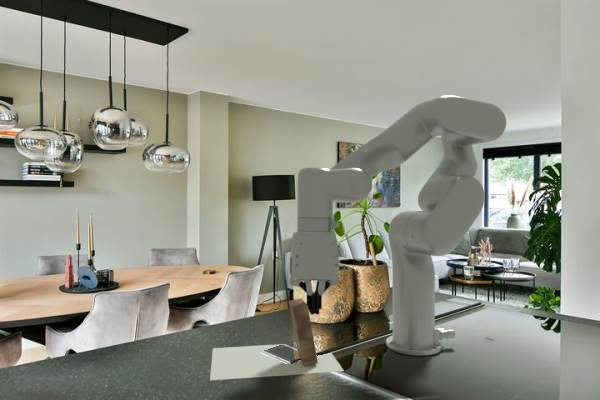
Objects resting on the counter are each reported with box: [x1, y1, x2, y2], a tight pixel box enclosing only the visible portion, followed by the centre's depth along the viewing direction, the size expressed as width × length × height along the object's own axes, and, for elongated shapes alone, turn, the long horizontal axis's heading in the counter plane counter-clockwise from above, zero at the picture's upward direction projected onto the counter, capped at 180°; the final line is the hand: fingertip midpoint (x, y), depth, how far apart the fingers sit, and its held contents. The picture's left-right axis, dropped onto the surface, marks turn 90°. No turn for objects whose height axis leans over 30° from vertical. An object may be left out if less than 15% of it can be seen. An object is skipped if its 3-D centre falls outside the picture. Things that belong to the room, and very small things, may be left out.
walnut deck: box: [288, 297, 318, 367], centre depth 91 cm, size 3×7×12 cm, turn 10°
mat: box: [209, 343, 345, 382], centre depth 92 cm, size 26×18×1 cm
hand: (313, 312), depth 92 cm, fingers closed
